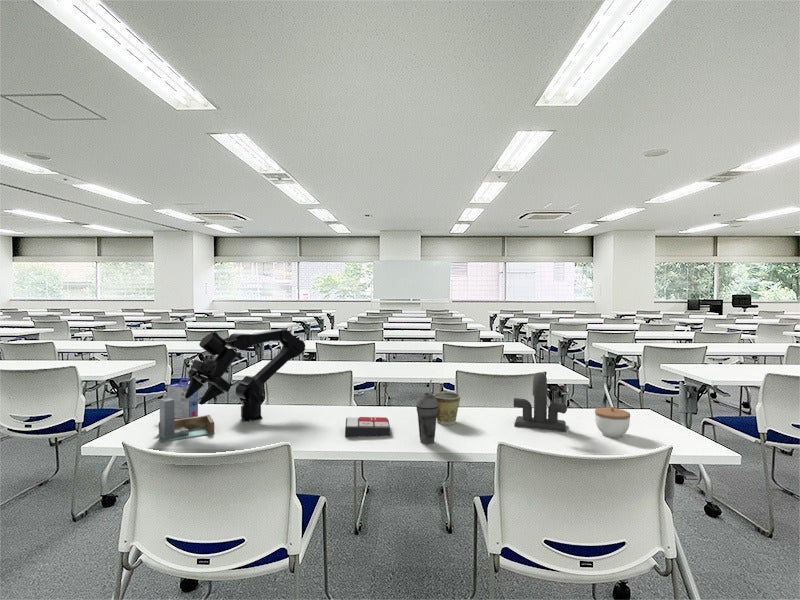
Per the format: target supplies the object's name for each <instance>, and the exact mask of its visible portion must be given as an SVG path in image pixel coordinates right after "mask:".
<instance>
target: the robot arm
mask: <svg viewBox="0 0 800 600" xmlns="http://www.w3.org/2000/svg"><path fill="white" fill-rule="evenodd" d="M274 341H279V343H280V344H281V345H282V346H281V350H280V352H279V353H278V354H276V355H275V356H274V357H273V358H272V359H271V360H270V361H269V362H268V363H267V364H266V365H264V367H263V368H261V369H260V370H259V371H258V372H257V373H256V374H254V375H253V376H248V375H246V376H244V377H243V378H242V380H240V381H239V382H237V385H236V387H235V395H236V396H237V397H238V398H239V401H240V402H241V406H240V418H241V419H242V420H243V421H244V422H248V421H254V420H261V419H263V416H262V403H264V401H265V396H264V395H262V394H261V392H262V388H263V386H264V384H266V382H267V381H269V380H270V379H271V377H272V376H274V375H275V374H276V373H277V372H278V371H279V370H280V369H282V367H284V365H285V364H286V363H287V362H289V361H290V360H292V359H294V358H298V357H299V356H301V354H303V353H304V352H305V350H306V343H305V342H304V340H302V339H300V338H298V337H297V336H295V335H293V334H292V333H291V332H290V331H289V330H287V329H285V328H277V329H275V330H274V329H273V330H267V331H262V332H255V333H239V332H238V333H236V332H235V333H231V334H230V336H228V337H225V338H222V337H221V336H220V335H219V333H217V332H216V331H211V332H210V333H209V334H207V335H206V336H204V337H203V338H202V339H201V340H200V342H199V345H198V346H199V347H200V348H202V349H203V350H204V351H205V352H206V353H208V354H209V355H211V356H215V357H214V360H212V359H211V360H208V359H206V360H205V361H202V360H199V359H193V362H192V364H191V367H190V368H191V369H189V370H188V372H187V376H188V379H189V383H188V384H189V387H188V390H187V392H186V395H185V398H186V399H188V398H189V397H190V396H192V395H193V394H194V393H195V392H196V391H198V392H199V391H200V389H201V388H203V387H204V384H206V383H207V389H206V391H205V392H204V394H203V396H202V397H201V399H200V400H199V401H198V405H201V406H202V405H204V404H206V403H207V402H209V401H211V400H212V399H214V398H216V397H218V396H220V395H222V394H223V395H224V394H225V393H228V392H229V391H230V389H231V383H229V382H228V381H227V380H226V379H224V378H223V376H224V375H225V373H226V374H229V372H230V371H229V367H231V365H232V364H233V362H234V361H235V360H239V361H241V360H243V357H242V352H239V351H243V350H247V349H249V348H251V347H253V346H255V345H257V344H262V343H268V342H274ZM229 347H230V348H229ZM236 350H239V351H236Z"/></svg>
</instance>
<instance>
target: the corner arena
mask: <svg viewBox="0 0 800 600" xmlns="http://www.w3.org/2000/svg"><path fill="white" fill-rule="evenodd" d="M183 427H184V428H186V429H188V430H189V434H188V435H184V436H180V437H176V438H171V439H167V440H164V439H162V438H160V437H159V441H160V443H166V441H167V442H172V441H179V440H186V439H192V438H197V437H203V435H204V436H209V434H210V435H215V421H214V420H213V417H212V416H211V415H210V414H207V415H206V414H205V415H198V416H195V417H191V418H176V419H175V429H178V428H183ZM158 435H159V436H160V421H158Z"/></svg>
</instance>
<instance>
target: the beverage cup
mask: <svg viewBox="0 0 800 600" xmlns="http://www.w3.org/2000/svg"><path fill="white" fill-rule="evenodd" d="M432 380H433V379H429V387H428V392H425V393H421V394H420V396H419V397H418V398H417V400H416V404H415V407H416V413H417V421H418V432H419V435H418V436H419V442H420V443H421V444H423V445H432V444H434V443H435V438H436V429H437V412H438V407H439V406H438V401H437V399H436V397H435V396H434V395H433V393H431V389H432Z"/></svg>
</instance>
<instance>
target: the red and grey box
mask: <svg viewBox="0 0 800 600" xmlns="http://www.w3.org/2000/svg"><path fill="white" fill-rule="evenodd" d="M344 427H345V428H344V429H345V430H344V438H359V437H368V438H369V437H371V438H372V437H389V436H391V425H390V420H389V418H388V417H381V416H379V417H378V416H377V417H376V416H373V417H371V416H359V417H357V416H355V417H353V416H348V417H346V418H345V426H344Z"/></svg>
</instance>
